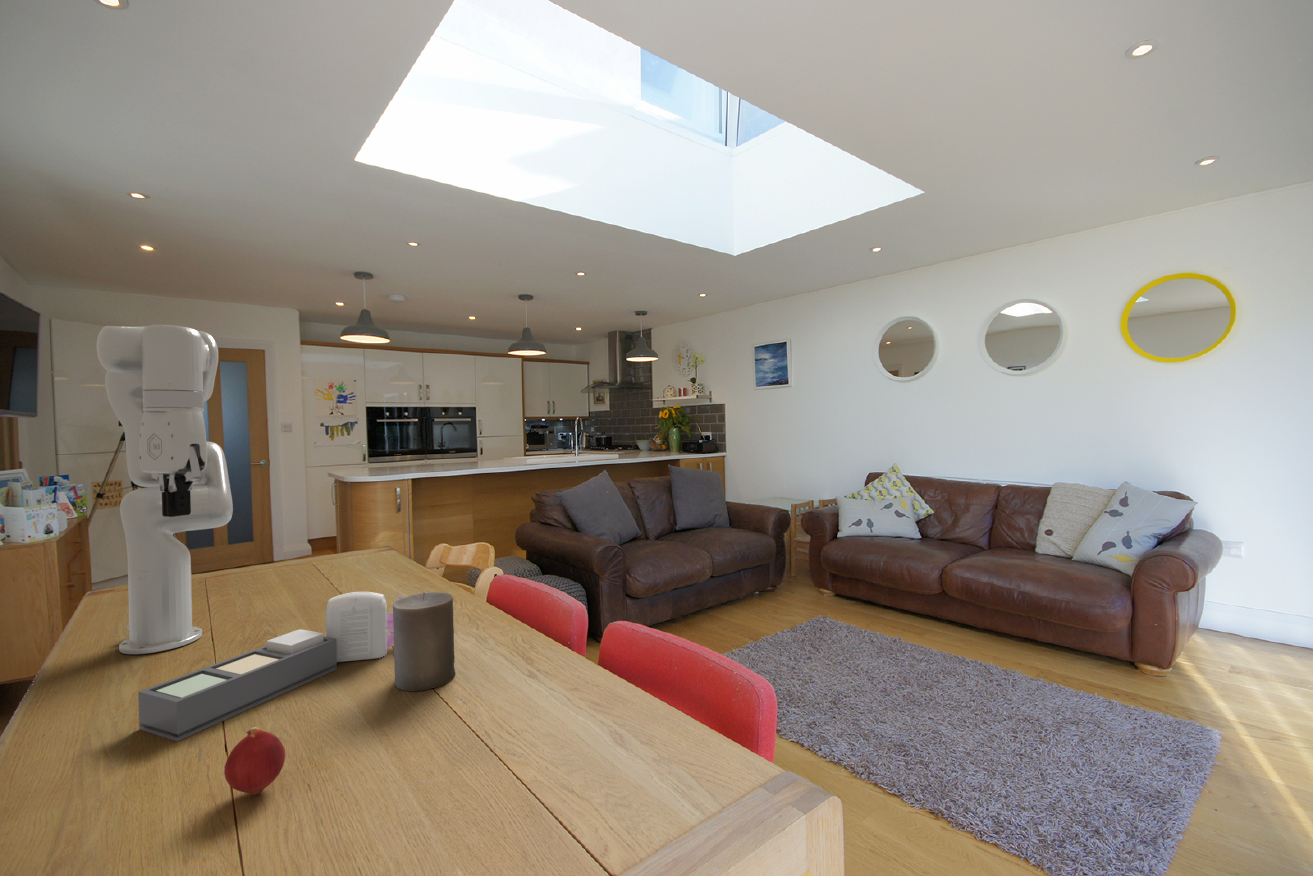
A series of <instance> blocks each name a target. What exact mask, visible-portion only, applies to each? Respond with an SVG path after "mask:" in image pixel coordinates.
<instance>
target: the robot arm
mask: <svg viewBox="0 0 1313 876" xmlns="http://www.w3.org/2000/svg"><path fill="white" fill-rule="evenodd" d="M96 353H97V359H98V361H99V362H100V365H101V366H102V368H104V370H105V371H106V373H105V376H104V383H105V392H106V396H107V399H108V402H109V405H110V406H111V409H112V411H113V413H114V414H115V416H116V417H117V419H118V421H119V423H120V424H121V426H122V428H123V432H124V438H125V440H124V441H125V455H126V464H127V472H128V476H129V479H130V481H131V482H132V483H133V484H134V485H136V486H138V487H141V488H137V489H134V490H132V491H130V492H127V494H125V495H124V496H123V497H122V499H121V501H120V505H119V512H120V520H121V523H122V528H123V531H124V536H125V544H126V554H127V555H126V556H127V557H126V558H127V580H128V581H127V582H128V583H127V585H128V586H127V587H128V590H127V591H128V623H127V624H126V629H127V630H129V631H128V632H129V637H128V638H126V639H124V640H123V641H122V642H120V643H119V645H118V650H119V652H120V653H122V654H125V655H146V654H153V653H158V652H159V653H160V652H163V651H169V650H173V649H176V648H179V647H183V646H186V645H189V644H191V643H193V642H195V641H197V640H198V639H200V638H201V637H202V635H203V630H202V628H201V627H198V626H193V602H192V568H191V567H192V564H191V563H192V561H191V552H190V550H189V548H188V547H187V545H185V544H184V543H183V542H181V541H180V540H178V539H177V538H176V537H174V534H176V533H177V534H178V533H182V532H187V531H188V532H189V531H201V530H208V529H215V528H220V527H223V526H225V525H227V524H228V523H229V522H230V521H231V520H232V516H233V512H234V508H233V507H234V506H233V505H234V504H233V496H232V490H231V483H230V478H229V471H228V466H227V465H228V464H227V460H226V456H225V453H224V450H223V448H222V447H221V446H220V445H219V444H217V443H215V442H213V441H208V440H207V433H206V426H205V425H206V424H205V419H204V414H203V413H204V412H205V409H204V407H205V405H204V403H205V402H207V401H208V400H209V399H210V398H211V397H212V395H213V392H214V387H215V381H216V380H215V379H216V375H217V370H218V365H219V348H218V344H217V342H216V340H215V338H214V337H213V336H212V334H210V333H208V332H205V331H202V330H196V329H195V328H191V327H187V326H182V325H172V324H171V325H170V324H152V325H147V326H143V325H142V326H141V325H140V326H118V325H105V326H104V327H102V328H101V329H100V331H99V332H98V335H97V339H96Z"/></svg>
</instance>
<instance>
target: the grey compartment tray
mask: <svg viewBox="0 0 1313 876" xmlns="http://www.w3.org/2000/svg"><path fill="white" fill-rule="evenodd" d="M254 654H256V655H261V656H265V657H270V658H275V659H279V660H276V661H274V662H271V663H269V664H266V665H264V666H261V667H259V668H256V669H254V670H251V671H248V672H246V673H243V674H241V675H239V674H235V673H231V672H226V671H222V670H218V669H216V668H219V667H222V666H224V665H227V664H230V663H232V662H235V661H238V660H241V659H243V658H246V657H249V656H251V655H254ZM336 669H337V670H338V662H337V646H336V639H334V638H329V637H326V636H324V642H322V643H320V644H317V645H315V646H312V647H310V648H307V649H304V650H302V651H299V652H297V653H294V654H292V655H289V654H284V653H279V652H274V651H269V650H267V644H265V645H264V646H261V647H257V648H254V649H252V650H249V651H246V652H243V653H241V654H238V655H235V656H232V657H231V658H228V659H225V660H222V661H219V662H216V663H214V664H211V665H208V666H205V667H203V668H200V669H197V670H194V671H191V672H189V673H186V674H184V675H181V676H178V677H175V678H172V679H170V680H167V681H164V682H161V683H159V684H155V685H152V686H149V687H147V688H145V689H144V688H143V689H142V690H138V693H137V694H138V725H139V726H138V729H139V730H140V731H143V732H146V733H150V734H153V735H156V736H159V737H162V738H166V739H169V740H172V741H175V742H180V741H182V740H185V739H186V738H188V737H190V736H193V735H196V734H197V733H199V732H201V731H203V730H206V729H208V728H210V727H213V726H215V725H217V724H219V723H221V722H223V721H226V720H228V719H231V718H233V717H235V716H237V715H240V714H241V713H243V712H246V711H248V710H250V709H253V708H254V707H256V706H259V705H261V704H264V703H266V702H268V701H270V700H272V699H275V698H277V697H279V696H282V695H283V694H286V693H288V692H290V691H293V690H294V689H296V688H299V687H301V686H304V685H306V684H308V683H310V682H312V681H314V680H316V679H318V678H320V677H323V676H325V675H327V674H329V673H331V672H334V671H336ZM200 674H205V675H209V676H213V677H218V678H222V679H226V680H225V681H223V682H220V683H218V684H215V685H213V686H210V687H208V688H205V689H203V690H200V691H197V692H195V693H192V694H190V695H187V696H185V697H182V698H176V697H172V696H168V695H165V694H161V693H157V692H156V690H159V689H162V688H164V687H167V686H170V685H173V684H175V683H178V682H181V681H183V680H186V679H189V678H192V677H194V676H197V675H200Z"/></svg>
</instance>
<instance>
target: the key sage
mask: <svg viewBox="0 0 1313 876" xmlns="http://www.w3.org/2000/svg"><path fill="white" fill-rule="evenodd" d="M225 680H226V679H222V678H218V677H213V676H209V675H205V674H200V675H197V676H194V677H192V678H189V679H186V680H183V681H181V682H178V683H175V684H173V685H170V686H167V687H164V688H162V689H159V690H156V692H157V693H161V694H165V695H168V696H172V697H176V698H182V697H185V696H187V695H190V694H192V693H195V692H197V691H200V690H203V689H205V688H208V687H210V686H213V685H215V684H218V683H220V682H223V681H225Z"/></svg>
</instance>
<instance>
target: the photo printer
mask: <svg viewBox="0 0 1313 876" xmlns="http://www.w3.org/2000/svg"><path fill="white" fill-rule="evenodd" d="M387 607H388V606H387V601H386V596H385V594H383V593H379V592H372V591H352V592H348V593H347V592H346V593H343V594H338V595H336V596H334V597H331V598H329V599H328V601H327V606H326V610H325V637H329V638H334V639H336V646H337V663H341V662H352V661H354V662H355V661H361V660H362V661H364V660H373V659H380V658H381V657H382V658H383V656H384V657H386V655H387V653H388V652H387V651H388V649H387V635H388V631H387V612H388V611H387V609H388V608H387ZM382 658H381V659H382Z"/></svg>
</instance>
